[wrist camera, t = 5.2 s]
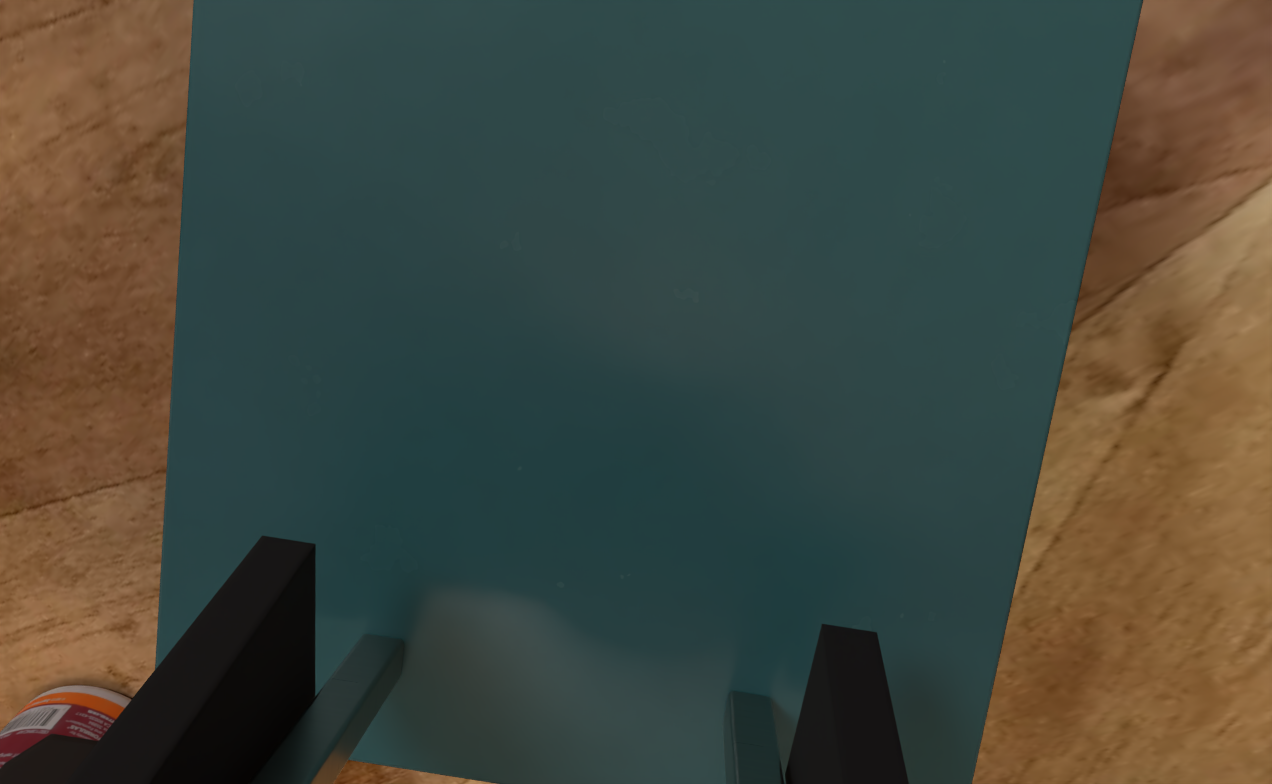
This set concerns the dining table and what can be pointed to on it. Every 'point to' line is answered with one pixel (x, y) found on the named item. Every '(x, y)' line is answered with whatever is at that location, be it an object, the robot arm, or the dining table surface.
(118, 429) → the dining table surface
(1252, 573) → the dining table surface
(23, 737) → the pill bottle
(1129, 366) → the dining table surface
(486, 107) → the lid
